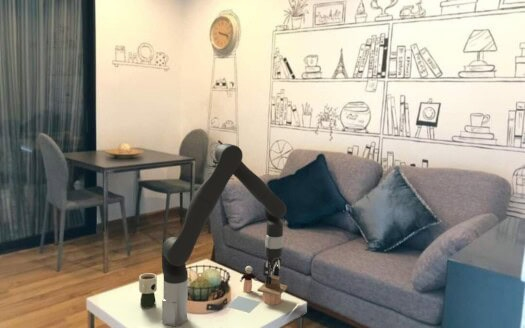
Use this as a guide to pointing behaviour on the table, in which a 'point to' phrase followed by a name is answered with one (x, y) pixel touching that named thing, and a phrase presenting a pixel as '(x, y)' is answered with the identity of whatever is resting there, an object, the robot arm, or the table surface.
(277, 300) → the bowl
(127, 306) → the table surface
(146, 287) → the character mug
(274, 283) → the lid
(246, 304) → the mat
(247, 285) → the grandmother figurine
